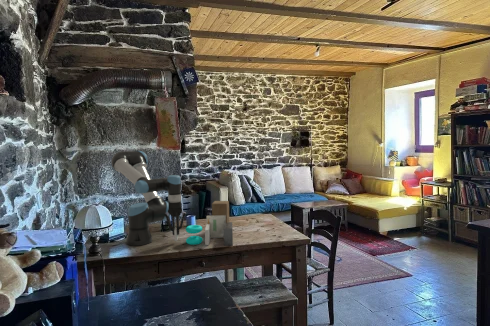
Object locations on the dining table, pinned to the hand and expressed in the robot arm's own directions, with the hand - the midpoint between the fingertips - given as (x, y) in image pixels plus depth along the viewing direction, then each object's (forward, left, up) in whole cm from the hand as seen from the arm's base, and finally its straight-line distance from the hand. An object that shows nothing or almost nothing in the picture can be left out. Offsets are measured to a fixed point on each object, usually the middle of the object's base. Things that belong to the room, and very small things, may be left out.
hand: (176, 240), depth 207 cm
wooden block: (+5, +35, -2) cm, 35 cm away
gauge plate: (+14, +13, -1) cm, 19 cm away
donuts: (+8, +7, -2) cm, 11 cm away
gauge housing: (+19, +18, -2) cm, 26 cm away
